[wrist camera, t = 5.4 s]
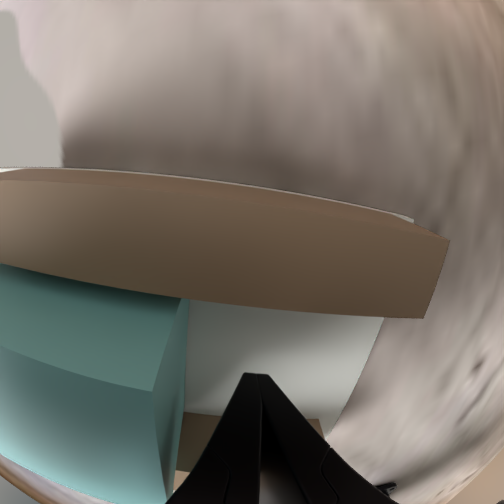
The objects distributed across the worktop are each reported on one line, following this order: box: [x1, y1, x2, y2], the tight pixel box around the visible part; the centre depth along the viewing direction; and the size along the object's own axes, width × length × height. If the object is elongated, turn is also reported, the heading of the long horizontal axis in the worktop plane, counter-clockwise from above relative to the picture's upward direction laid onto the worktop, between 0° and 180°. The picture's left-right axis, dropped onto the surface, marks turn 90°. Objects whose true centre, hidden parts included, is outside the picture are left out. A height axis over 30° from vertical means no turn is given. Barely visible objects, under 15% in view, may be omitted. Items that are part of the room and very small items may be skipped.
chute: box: [0, 167, 450, 490], centre depth 8 cm, size 22×11×4 cm, turn 81°
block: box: [0, 263, 190, 504], centre depth 7 cm, size 7×6×5 cm
